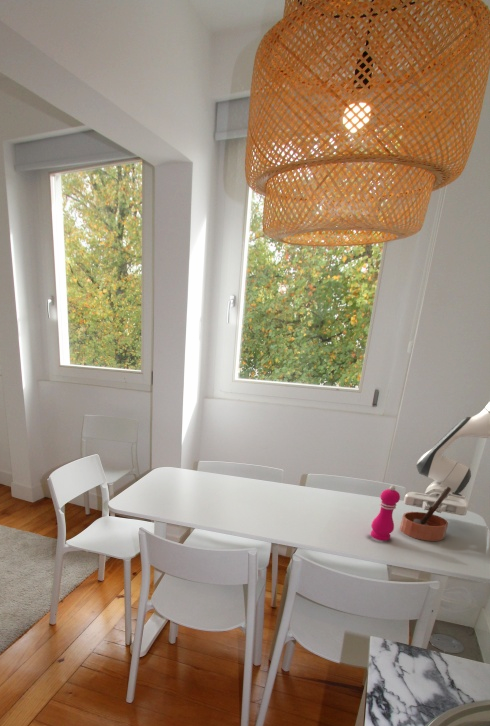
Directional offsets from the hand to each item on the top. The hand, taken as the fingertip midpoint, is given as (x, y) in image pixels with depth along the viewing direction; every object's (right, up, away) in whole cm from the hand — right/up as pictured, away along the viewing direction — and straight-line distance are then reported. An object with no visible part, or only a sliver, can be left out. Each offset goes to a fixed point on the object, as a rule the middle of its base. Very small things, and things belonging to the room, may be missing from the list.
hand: (433, 509), depth 166 cm
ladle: (-2, -7, +7) cm, 10 cm away
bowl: (-1, -9, +6) cm, 11 cm away
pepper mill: (-18, -10, +2) cm, 21 cm away
